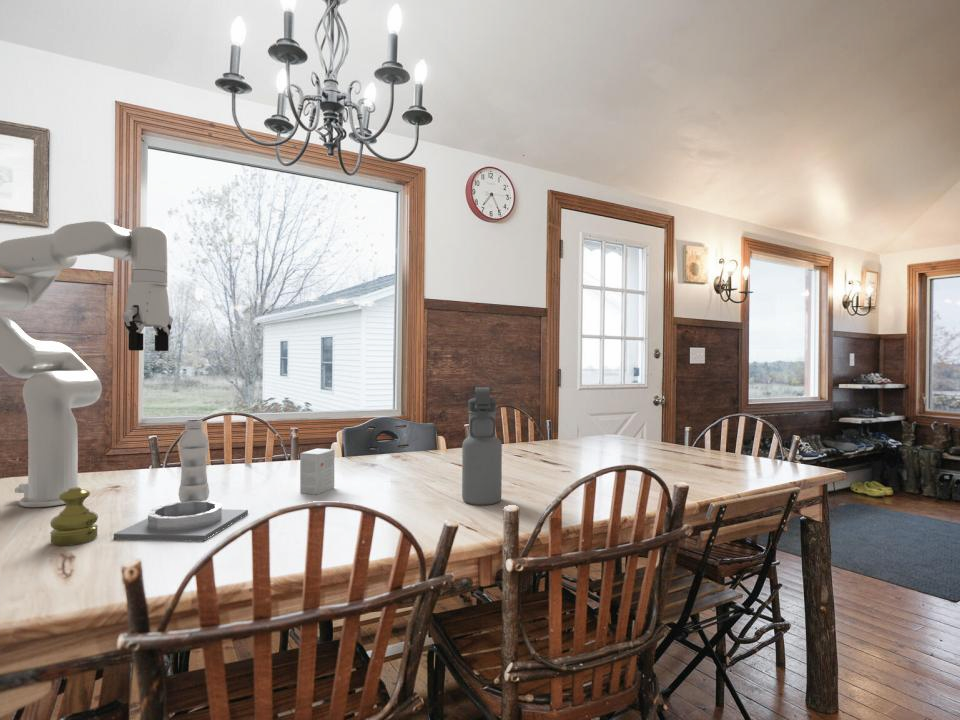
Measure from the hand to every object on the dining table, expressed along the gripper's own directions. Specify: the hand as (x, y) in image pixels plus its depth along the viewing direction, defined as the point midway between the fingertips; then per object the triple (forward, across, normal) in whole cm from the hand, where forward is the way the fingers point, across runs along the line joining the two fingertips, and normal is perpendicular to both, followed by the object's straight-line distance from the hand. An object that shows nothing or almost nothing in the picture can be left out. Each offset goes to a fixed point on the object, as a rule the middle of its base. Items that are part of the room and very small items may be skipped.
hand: (149, 350), depth 133 cm
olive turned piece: (+37, +27, +3) cm, 46 cm away
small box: (+37, -15, +36) cm, 54 cm away
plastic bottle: (+37, 0, +11) cm, 39 cm away
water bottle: (+37, -6, +80) cm, 88 cm away
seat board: (+37, +17, +19) cm, 45 cm away
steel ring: (+37, +17, +19) cm, 45 cm away
